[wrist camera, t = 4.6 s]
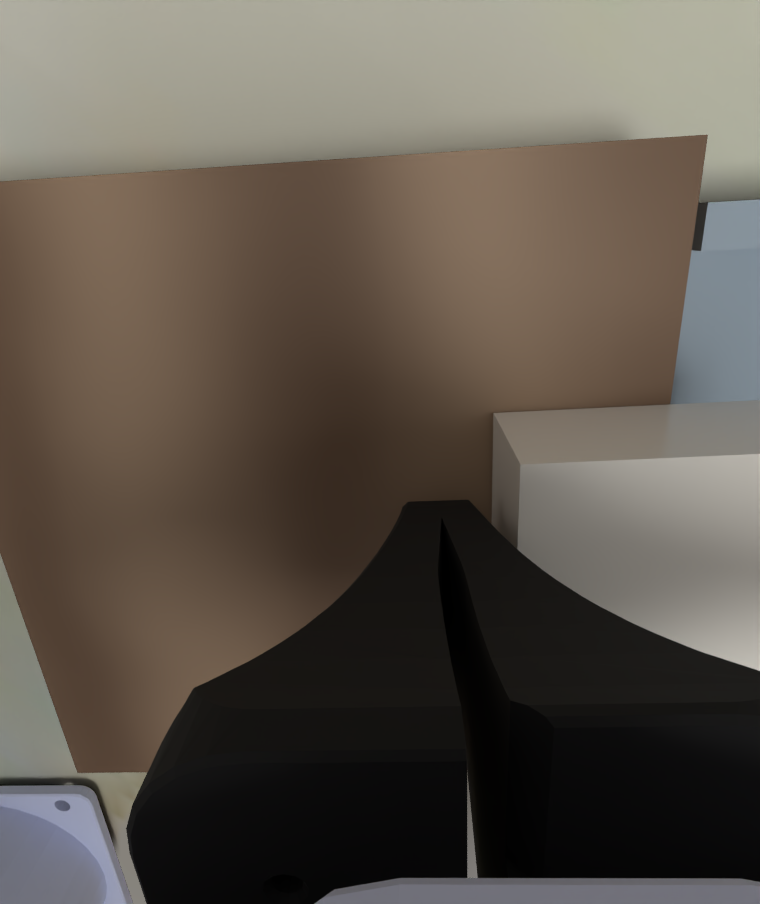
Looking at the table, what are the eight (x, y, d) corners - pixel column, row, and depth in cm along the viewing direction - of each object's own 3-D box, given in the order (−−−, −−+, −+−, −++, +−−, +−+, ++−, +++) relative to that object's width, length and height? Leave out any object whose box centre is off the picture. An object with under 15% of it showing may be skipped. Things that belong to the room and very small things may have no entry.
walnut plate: (128, 686, 18) (77, 772, 15) (-11, 197, 13) (-128, 189, 10) (584, 679, 17) (619, 768, 14) (635, 155, 12) (707, 135, 9)
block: (489, 626, 13) (511, 716, 10) (493, 413, 11) (520, 464, 9) (719, 618, 13) (792, 708, 10) (762, 399, 11) (864, 449, 8)
